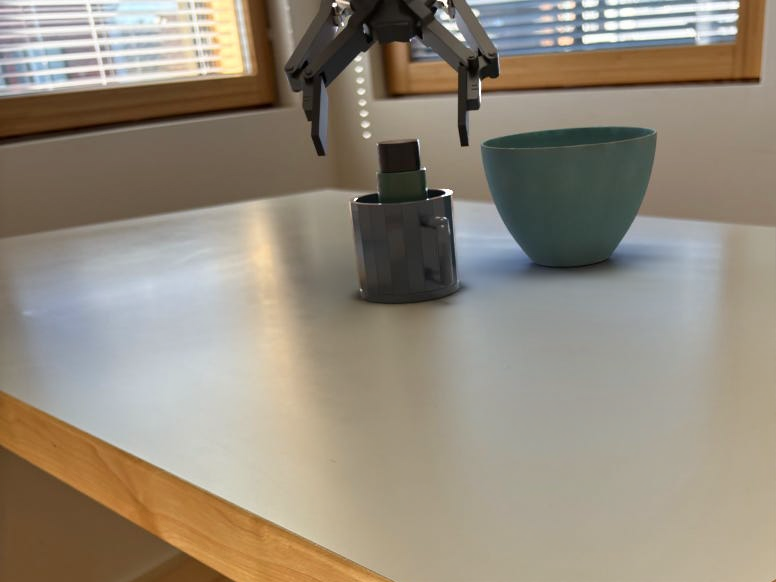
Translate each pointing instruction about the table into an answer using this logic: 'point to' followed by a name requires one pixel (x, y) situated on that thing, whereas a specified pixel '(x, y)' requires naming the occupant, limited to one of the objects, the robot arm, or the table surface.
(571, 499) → the table surface
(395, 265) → the mug
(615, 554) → the table surface
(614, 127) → the green bowl
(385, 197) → the flask
